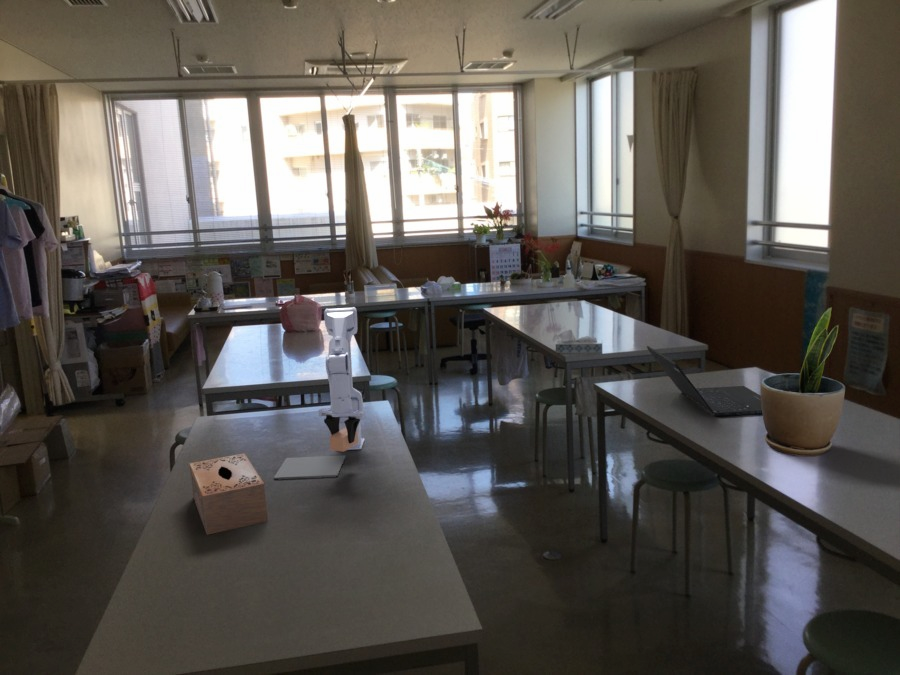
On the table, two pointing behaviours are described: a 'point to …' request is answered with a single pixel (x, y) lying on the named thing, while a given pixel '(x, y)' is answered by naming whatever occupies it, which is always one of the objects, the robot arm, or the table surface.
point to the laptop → (712, 392)
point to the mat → (310, 467)
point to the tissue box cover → (228, 493)
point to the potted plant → (804, 400)
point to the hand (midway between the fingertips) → (344, 441)
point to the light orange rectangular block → (341, 441)
